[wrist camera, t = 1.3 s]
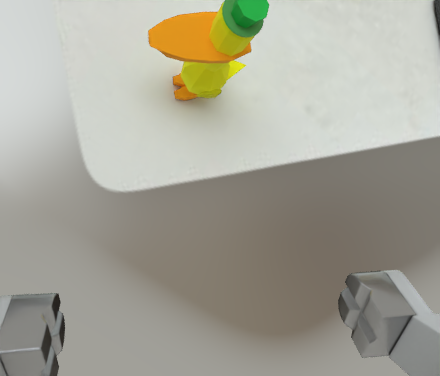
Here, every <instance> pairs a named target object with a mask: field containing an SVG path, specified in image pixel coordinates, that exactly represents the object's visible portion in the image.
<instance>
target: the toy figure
mask: <svg viewBox="0 0 440 376" xmlns="http://www.w3.org/2000/svg"><path fill="white" fill-rule="evenodd" d="M268 8H269V4H268V2H267V0H225V1H224V2H223V3H222V5H221V7H220V9H219V11H218V12H199V13H190V14H182V15H177V16H175V17H172V18H169V19H166V20H163V21H162V22H160V23H159V24H157V25H156V26H155V27H153V28H152V29H150V30H149V31H148V35H149V44H150V46H151V47H153V48H156V49H158V50H159V51H160V52H161V53H163V54H164V55H165V56H166V57H169V58H173V59H177V60H180V61H184V64H183V68H182V71H181V73H180V74H179V75H177V76H174V77H173V84H174V85H177V86H180V87H181V88H180V89H178V90H176V91H174V94H175V99H179V100H183V101H184V100H190V99H193V98H196V97H204V98H214V97H217V96H218V95H219V94H220V93H221V88H222V87H223V86H224V84H225V83H226V81H227V80H228V79H229V78H231V77H232V76H233V75H234V74H236V73H237V72H238V71H240V70H241V69H242V68H243V67H245V66H246V65H244V64H242V63H239V62H237V61H234V60H235V59H237V58H239V57H241V56H243V55H245V54H247V53H249V52H251V45H250V41H251V40H252V39H253V38H254V36H255V35H256V34H257V33H258V32H259V31H260V30H261V28H262V26H263V19H264V18H266V16H267V12H268Z"/></svg>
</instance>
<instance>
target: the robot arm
mask: <svg viewBox="0 0 440 376" xmlns="http://www.w3.org/2000/svg"><path fill="white" fill-rule="evenodd" d="M345 283H346V285H347V286H348V287H347V288H346V289H344V290H343V291H342V292H341V294H340V297H339V300H338V304H339V312H340V315H341V318H342V320H343V322H344V324H346V325H347V326H348V327H350V328H351V329H352V330H353V331H352V336H351V338H352V340H353V341H354V343H355V345H356V347H357V349H358V351H359V353H360V355H361V357H362V358H366V357H377V356H389V358H390V359H391V360H393V361H394V362H395V363H396V364H397V365H398V366H399V367H400V368H401V369H403V370H404V371H405V372H406V373H407V374H408V375H409V376H440V314H439V313H438V314H434V313H433V312H432V311H431V309H430V308H429V307H428V305H427V304H426V303H425V302H424V300H423V299H422V298H421V296H420V295H419V294H418V292H417V291H416V290H415V288H414V287H413V286H412V284H411V283H410V282H409V281H408V279H407V278H406V277H405V275H404V274H403V273H402V272H401V271H399V270H388V271H371V272H359V273H351V274H350V275H348V276H347V279H346V281H345ZM59 307H60V298H59V295H58V294H57V293H50V294H30V295H29V294H27V295H11V296H10V295H8V296H0V376H57V373H58V369H59V365H58V361H57V357H56V356H57V355H58V354H59V353H60V352H61V351H62V347H63V343H64V333H65V323H64V316H63V313H61V312H60V311H59Z"/></svg>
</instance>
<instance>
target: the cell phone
mask: <svg viewBox="0 0 440 376" xmlns="http://www.w3.org/2000/svg"><path fill="white" fill-rule="evenodd" d="M435 8H436V13H437V18H438V24H439V29H440V0H435Z"/></svg>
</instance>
